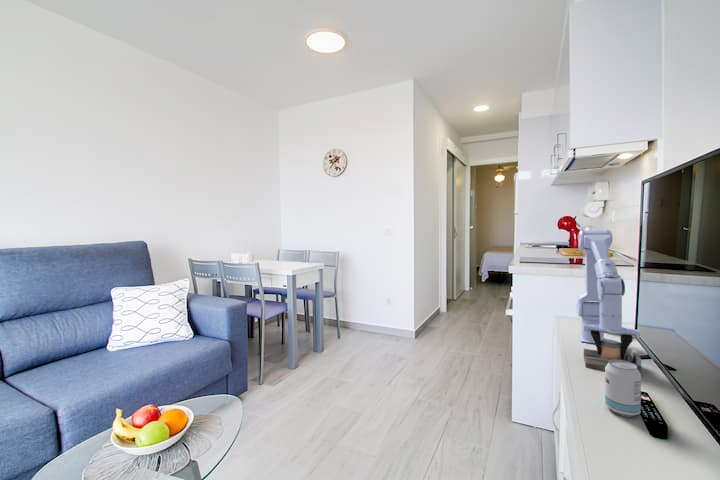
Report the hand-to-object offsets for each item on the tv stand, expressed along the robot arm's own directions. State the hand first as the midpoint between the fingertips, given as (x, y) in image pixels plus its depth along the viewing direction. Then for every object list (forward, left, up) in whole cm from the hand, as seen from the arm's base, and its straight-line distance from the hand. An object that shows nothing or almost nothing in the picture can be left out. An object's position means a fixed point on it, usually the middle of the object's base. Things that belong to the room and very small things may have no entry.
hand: (610, 355), depth 106 cm
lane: (0, 0, -3) cm, 3 cm away
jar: (0, 0, -2) cm, 2 cm away
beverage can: (+30, -1, -4) cm, 30 cm away
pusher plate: (0, +4, -2) cm, 5 cm away
